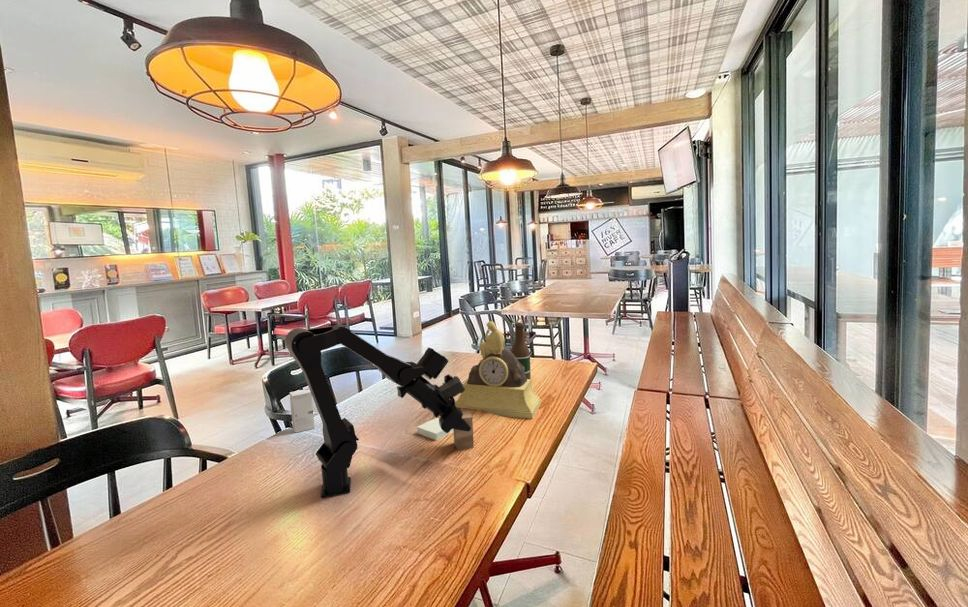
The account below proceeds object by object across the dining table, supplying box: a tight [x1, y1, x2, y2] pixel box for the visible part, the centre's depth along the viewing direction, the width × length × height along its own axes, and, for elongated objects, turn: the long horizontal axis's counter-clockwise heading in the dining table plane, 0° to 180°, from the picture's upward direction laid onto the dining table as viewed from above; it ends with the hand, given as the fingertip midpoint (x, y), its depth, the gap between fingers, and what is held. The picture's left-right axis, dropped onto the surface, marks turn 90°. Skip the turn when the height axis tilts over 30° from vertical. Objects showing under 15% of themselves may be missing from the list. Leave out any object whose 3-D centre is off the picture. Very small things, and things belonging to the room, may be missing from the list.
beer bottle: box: [510, 322, 531, 379], centre depth 171 cm, size 8×8×24 cm
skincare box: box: [289, 388, 315, 433], centre depth 135 cm, size 6×4×12 cm
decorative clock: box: [455, 320, 542, 420], centre depth 145 cm, size 28×13×30 cm, turn 71°
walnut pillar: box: [453, 410, 475, 451], centre depth 117 cm, size 4×4×10 cm
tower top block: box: [416, 417, 454, 441], centre depth 126 cm, size 8×8×2 cm
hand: (467, 426), depth 117 cm, fingers closed on walnut pillar, 4 cm apart
